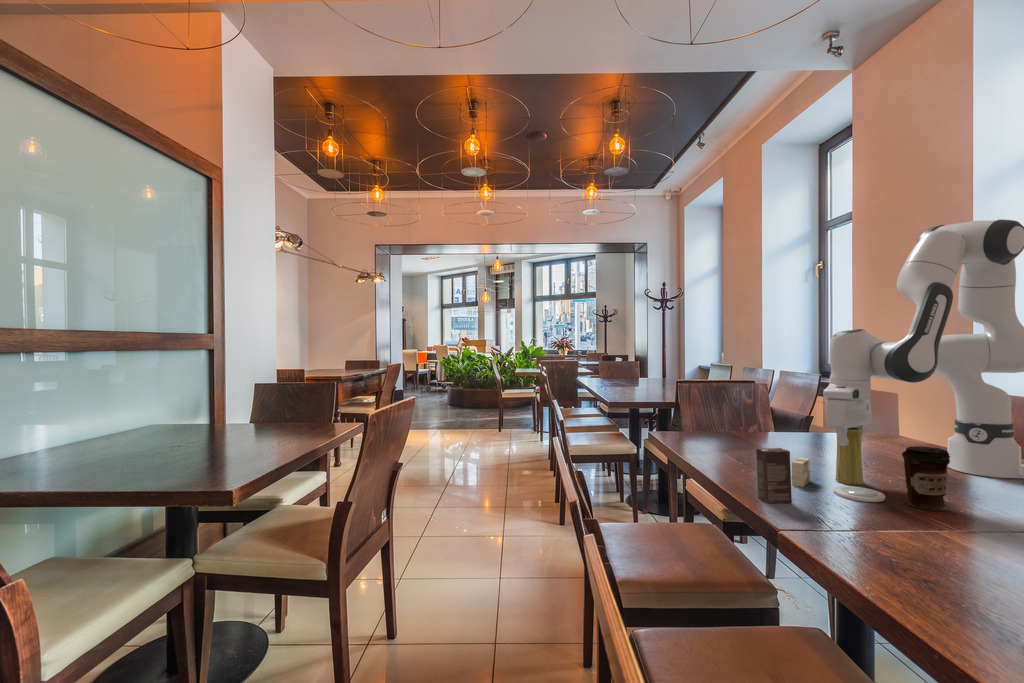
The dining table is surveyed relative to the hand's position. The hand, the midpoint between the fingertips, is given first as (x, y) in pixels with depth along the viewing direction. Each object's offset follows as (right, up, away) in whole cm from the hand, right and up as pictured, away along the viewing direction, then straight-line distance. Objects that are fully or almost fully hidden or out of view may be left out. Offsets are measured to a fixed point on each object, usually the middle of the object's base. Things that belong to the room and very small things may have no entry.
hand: (850, 443), depth 124 cm
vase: (0, -11, +1) cm, 11 cm away
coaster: (-5, -10, -10) cm, 15 cm away
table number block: (-13, -11, +1) cm, 16 cm away
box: (-27, -11, -13) cm, 32 cm away
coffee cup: (+4, -10, -18) cm, 21 cm away
